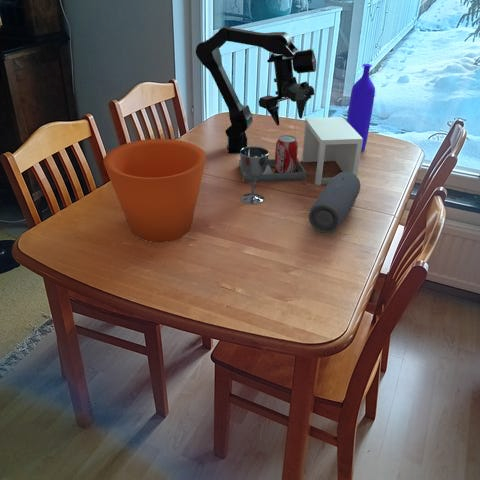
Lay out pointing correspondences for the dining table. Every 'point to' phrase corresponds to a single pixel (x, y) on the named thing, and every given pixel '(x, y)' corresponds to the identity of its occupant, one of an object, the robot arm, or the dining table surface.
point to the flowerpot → (157, 185)
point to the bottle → (361, 105)
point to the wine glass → (253, 170)
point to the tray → (271, 176)
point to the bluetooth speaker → (334, 202)
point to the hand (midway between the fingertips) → (289, 121)
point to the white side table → (331, 145)
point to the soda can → (286, 154)
